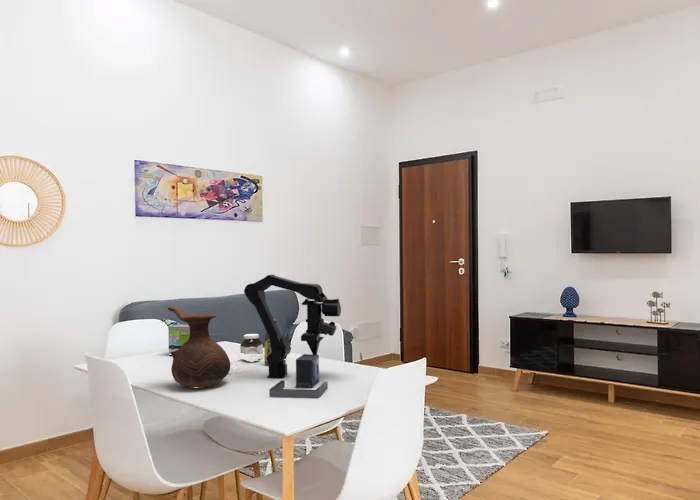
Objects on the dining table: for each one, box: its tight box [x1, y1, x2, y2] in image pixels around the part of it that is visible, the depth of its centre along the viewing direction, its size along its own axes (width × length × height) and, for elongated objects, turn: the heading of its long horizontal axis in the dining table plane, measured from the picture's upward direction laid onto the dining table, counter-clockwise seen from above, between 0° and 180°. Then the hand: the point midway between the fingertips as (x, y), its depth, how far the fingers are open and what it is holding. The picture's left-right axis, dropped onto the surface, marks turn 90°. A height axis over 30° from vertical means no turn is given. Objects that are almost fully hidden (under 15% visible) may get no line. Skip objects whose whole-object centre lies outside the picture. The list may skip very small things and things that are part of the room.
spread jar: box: [239, 333, 264, 355], centre depth 253 cm, size 12×11×12 cm
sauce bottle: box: [263, 318, 277, 366], centre depth 243 cm, size 6×6×20 cm
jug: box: [167, 305, 231, 388], centre depth 209 cm, size 22×22×30 cm
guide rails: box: [268, 379, 329, 399], centre depth 193 cm, size 17×13×2 cm
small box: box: [295, 353, 320, 389], centre depth 205 cm, size 11×6×10 cm, turn 168°
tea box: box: [167, 323, 190, 355], centre depth 272 cm, size 15×10×15 cm, turn 81°
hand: (315, 355), depth 216 cm, fingers closed
